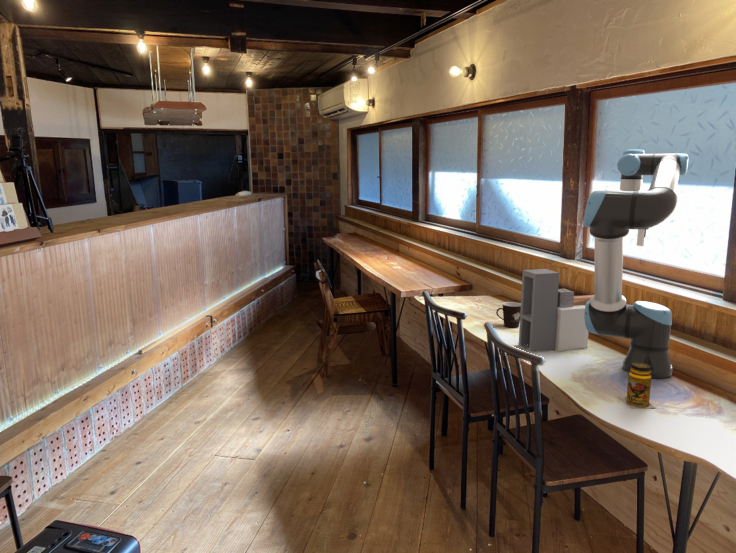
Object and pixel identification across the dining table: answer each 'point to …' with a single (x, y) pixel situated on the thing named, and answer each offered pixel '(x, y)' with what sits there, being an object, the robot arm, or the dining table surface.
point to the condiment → (638, 386)
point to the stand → (538, 309)
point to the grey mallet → (570, 299)
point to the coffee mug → (511, 314)
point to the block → (571, 328)
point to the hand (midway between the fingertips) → (625, 246)
